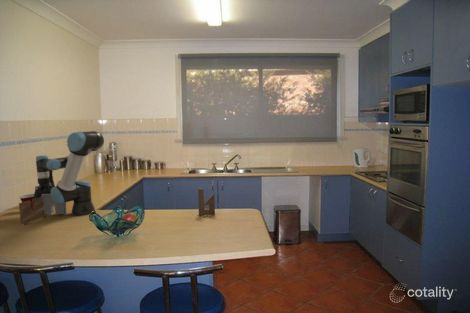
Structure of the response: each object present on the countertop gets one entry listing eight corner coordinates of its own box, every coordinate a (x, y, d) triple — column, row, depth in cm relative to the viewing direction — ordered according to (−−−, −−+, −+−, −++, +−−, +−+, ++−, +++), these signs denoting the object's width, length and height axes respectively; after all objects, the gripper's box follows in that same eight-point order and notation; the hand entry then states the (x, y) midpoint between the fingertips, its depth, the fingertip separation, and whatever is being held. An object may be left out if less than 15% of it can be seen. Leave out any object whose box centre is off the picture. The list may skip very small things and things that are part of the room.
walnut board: (44, 217, 243) (43, 197, 242) (23, 224, 226) (21, 203, 224) (42, 217, 243) (40, 196, 242) (21, 224, 226) (19, 203, 225)
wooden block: (215, 214, 238) (214, 188, 236) (198, 215, 237) (197, 189, 235) (214, 213, 242) (213, 187, 240) (198, 214, 240) (197, 188, 238)
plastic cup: (19, 211, 261) (18, 195, 260) (36, 208, 268) (34, 193, 266) (21, 214, 253) (20, 197, 251) (38, 211, 259) (37, 195, 258)
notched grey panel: (66, 214, 249) (64, 194, 248) (64, 214, 248) (62, 195, 246) (44, 213, 254) (43, 193, 252) (42, 213, 252) (40, 194, 250)
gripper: (51, 174, 262) (54, 203, 264) (25, 180, 238) (27, 211, 240) (60, 174, 260) (62, 203, 263) (34, 180, 236) (37, 212, 239)
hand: (46, 207), depth 252 cm, fingers open, 12 cm apart
